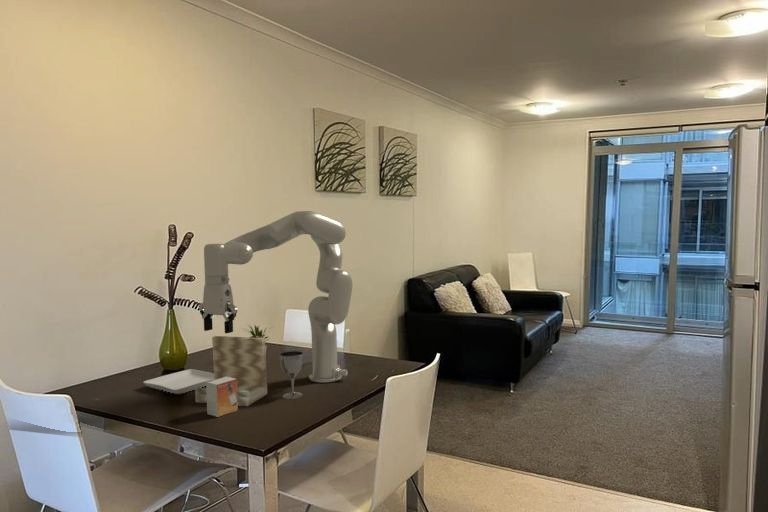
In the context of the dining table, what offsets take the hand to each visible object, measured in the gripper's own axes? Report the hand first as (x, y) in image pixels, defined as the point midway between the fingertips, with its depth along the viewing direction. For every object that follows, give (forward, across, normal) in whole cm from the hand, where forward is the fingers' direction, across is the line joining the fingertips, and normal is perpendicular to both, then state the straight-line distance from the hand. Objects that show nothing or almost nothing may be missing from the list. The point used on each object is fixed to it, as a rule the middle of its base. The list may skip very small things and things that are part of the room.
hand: (218, 331), depth 185 cm
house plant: (+24, +31, -49) cm, 63 cm away
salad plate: (+25, +28, -8) cm, 38 cm away
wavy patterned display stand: (+24, 0, -5) cm, 25 cm away
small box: (+25, -8, +6) cm, 27 cm away
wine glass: (+24, -17, -17) cm, 34 cm away
